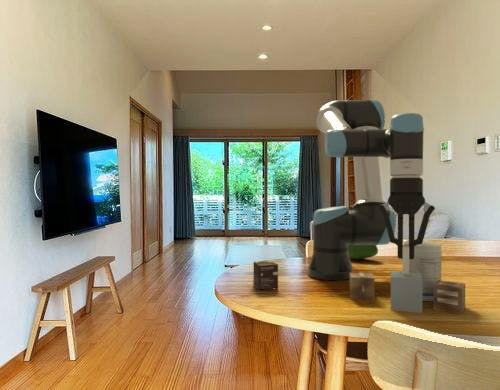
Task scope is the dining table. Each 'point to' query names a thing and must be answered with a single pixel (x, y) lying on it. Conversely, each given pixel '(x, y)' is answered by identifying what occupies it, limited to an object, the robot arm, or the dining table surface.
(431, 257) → the supplement tub
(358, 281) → the marked cube left
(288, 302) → the dining table surface
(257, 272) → the box
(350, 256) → the fruit
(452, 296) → the marked cube right
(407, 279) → the plain block
